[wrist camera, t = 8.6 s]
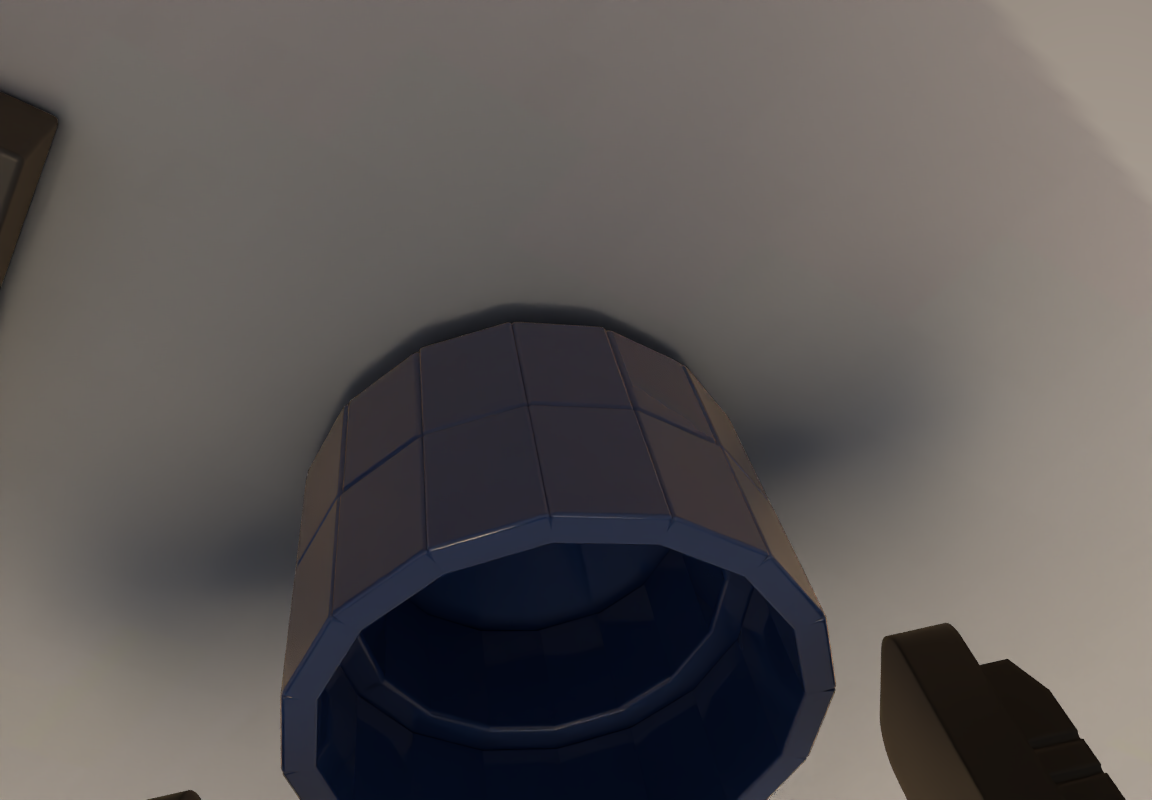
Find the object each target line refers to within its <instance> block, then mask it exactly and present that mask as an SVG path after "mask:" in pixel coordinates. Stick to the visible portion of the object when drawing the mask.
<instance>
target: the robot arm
mask: <svg viewBox="0 0 1152 800" xmlns="http://www.w3.org/2000/svg"><path fill="white" fill-rule="evenodd" d="M880 725H881V732H882V737H883V741H884V745H885V749H886V752H887V755H888V758H889V761H890V764H891V766H892V769H893V771H894V773H895V775H896V778H897V780H898V782H899V784H900V786H901V788H902V790H903V792H904V794H905V796H906V798H907V800H1125V798H1124V797H1123V795H1122V794H1121V792H1120V791H1119V790H1118V788H1117V787H1116V785H1115V784H1114V782H1113V781H1112V779H1111V778H1110V777H1109V775H1108V774H1107V773H1104V772H1103V770H1102V768H1101V764H1100V762H1099V761H1098V759H1097V758H1096V756H1095V755H1094V754H1093V752H1092V751H1091V749H1090V748H1089V746H1088V745H1087V743H1086V742H1085V741H1084V739H1080V737H1079V735H1078V730H1077V729H1076V728H1075V726H1074V725H1073V723H1072V722H1071V720H1070V719H1069V718H1068V716H1067V715H1066V713H1065V712H1064V710H1063V709H1062V707H1061V706H1060V705H1059V703H1058V702H1057V700H1056V699H1055V697H1054V696H1053V694H1052V693H1051V692H1050V690H1049V689H1047V688H1046V687H1045V686H1043V685H1042V684H1041V683H1039V682H1038V681H1037V680H1035V679H1034V678H1033V677H1031V676H1030V675H1028V674H1027V673H1026V672H1024V671H1023V670H1022V669H1020V668H1019V667H1018V666H1016V665H1015V664H1014V663H1012V662H1011V661H1010V660H1008V659H1005V660H1000V661H996V662H992V663H987V664H983V665H979V664H978V662H977V660H976V659H975V657H974V656H973V654H972V653H971V651H970V649H969V648H968V646H967V645H966V643H965V642H964V640H963V639H962V637H961V636H960V634H959V633H958V631H957V630H956V629H955V628H954V627H953V626H952V625H950V624H948V623H943V624H938V625H934V626H929V627H925V628H920V629H916V630H911V631H907V632H903V633H898V634H894V635H889V636H886V637H884V639H883V641H882V648H881V690H880ZM148 800H201V798H200V797H199V795H198V794H197V793H196V792H194V791H192V790H188V791H183V792H179V793H174V794H170V795H166V796H161V797H157V798H152V799H148Z"/></svg>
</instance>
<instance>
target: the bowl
mask: <svg viewBox="0 0 1152 800" xmlns="http://www.w3.org/2000/svg"><path fill="white" fill-rule="evenodd" d="M835 687H836V679H835V673H834V666H833V659H832V652H831V645H830V639H829V632H828V625H827V618H826V615H825V613H824V611H823V609H822V607H821V605H820V603H819V601H818V599H817V597H816V595H815V593H814V591H813V588H812V586H811V584H810V582H809V580H808V578H807V576H806V574H805V572H804V570H803V568H802V566H801V564H800V562H799V560H798V558H797V556H796V554H795V552H794V550H793V548H792V545H791V543H790V541H789V539H788V537H787V535H786V533H785V531H784V529H783V527H782V525H781V523H780V521H779V519H778V517H777V515H776V513H775V511H774V509H773V507H772V505H771V503H770V501H769V499H768V497H767V495H766V493H765V491H764V489H763V487H762V485H761V483H760V481H759V479H758V476H757V474H756V472H755V470H754V468H753V466H752V464H751V462H750V460H749V458H748V456H747V454H746V452H745V450H744V448H743V446H742V444H741V442H740V440H739V438H738V435H737V433H736V431H735V429H734V427H733V425H732V423H731V421H730V419H729V417H728V416H727V415H726V414H725V412H724V411H723V410H722V409H721V408H720V406H719V405H718V404H717V403H716V402H715V400H714V399H713V398H712V397H711V396H710V394H709V393H708V392H707V391H706V390H705V388H704V387H703V386H702V385H701V383H700V382H699V381H698V380H697V379H696V377H695V376H694V375H693V374H692V373H691V371H690V370H689V369H688V368H687V367H686V366H684V365H681V364H680V363H679V362H678V361H675V360H673V359H671V358H669V357H667V356H665V355H663V354H660V353H658V352H656V351H654V350H652V349H650V348H648V347H645V346H643V345H641V344H639V343H637V342H635V341H633V340H630V339H628V338H626V337H624V336H622V335H620V334H618V333H615V332H613V331H610V330H607V331H606V330H605V328H603V327H597V326H580V325H564V324H548V323H531V322H513V323H512V324H511V323H510V322H507V323H503V324H500V325H496V326H493V327H489V328H486V329H483V330H479V331H476V332H472V333H469V334H465V335H462V336H459V337H455V338H452V339H448V340H445V341H442V342H438V343H435V344H431V345H428V346H424V347H422V348H420V349H419V352H415V353H413V354H412V355H410V356H409V357H408V358H406V359H405V360H404V361H402V362H401V363H400V364H398V365H397V366H396V367H394V368H393V369H392V370H390V371H389V372H388V373H386V374H385V375H384V376H383V377H381V378H380V379H379V380H377V381H376V382H375V383H373V384H372V385H371V386H369V387H368V388H367V389H365V390H364V391H363V392H361V393H360V394H359V395H357V396H356V397H355V398H353V399H352V400H351V401H350V402H349V404H348V405H345V406H344V407H343V408H342V410H341V412H340V414H339V416H338V417H337V419H336V421H335V423H334V425H333V427H332V428H331V430H330V432H329V434H328V436H327V437H326V439H325V441H324V443H323V445H322V446H321V448H320V450H319V452H318V454H317V455H316V457H315V459H314V461H313V463H312V464H311V466H310V468H309V470H308V476H307V477H306V484H305V493H304V501H303V510H302V518H301V527H300V535H299V544H298V552H297V561H296V569H295V577H294V585H293V594H292V602H291V611H290V619H289V628H288V636H287V645H286V653H285V661H284V670H283V678H282V687H281V695H280V720H281V770H282V772H283V775H284V777H285V779H286V780H287V781H288V783H289V784H290V786H291V787H292V789H293V790H294V792H295V793H296V795H297V796H298V798H299V799H300V800H767V799H768V798H769V797H770V796H771V795H772V794H773V793H774V792H775V791H776V790H777V789H778V788H779V787H780V786H781V785H782V784H783V783H784V782H785V781H786V780H787V779H788V778H789V777H790V776H791V775H792V774H793V773H794V772H795V771H796V770H797V769H798V768H799V767H800V766H801V765H802V764H803V763H804V762H805V761H806V757H808V756H809V754H810V752H811V749H812V747H813V744H814V742H815V740H816V737H817V735H818V732H819V730H820V727H821V725H822V722H823V720H824V718H825V715H826V713H827V710H828V708H829V705H830V703H831V700H832V698H833V696H834V693H835Z"/></svg>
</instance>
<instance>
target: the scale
mask: <svg viewBox="0 0 1152 800" xmlns="http://www.w3.org/2000/svg"><path fill="white" fill-rule="evenodd" d="M57 126H58V121H57V118H56V117H55V116H53V115H51V114H49V113H47V112H44V111H42V110H40V109H38V108H35V107H33V106H31V105H29V104H27V103H24V102H22V101H20V100H18V99H15V98H13V97H11V96H9V95H7V94H4V93H2V92H0V288H1V286H2V283H3V280H4V277H5V274H6V271H7V268H8V266H9V263H10V260H11V257H12V254H13V251H14V248H15V246H16V243H17V240H18V237H19V234H20V231H21V228H22V226H23V223H24V220H25V217H26V214H27V211H28V209H29V206H30V203H31V200H32V197H33V194H34V191H35V189H36V186H37V183H38V180H39V177H40V174H41V171H42V169H43V166H44V163H45V160H46V157H47V154H48V151H49V149H50V146H51V143H52V140H53V137H54V134H55V131H56V129H57Z"/></svg>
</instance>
